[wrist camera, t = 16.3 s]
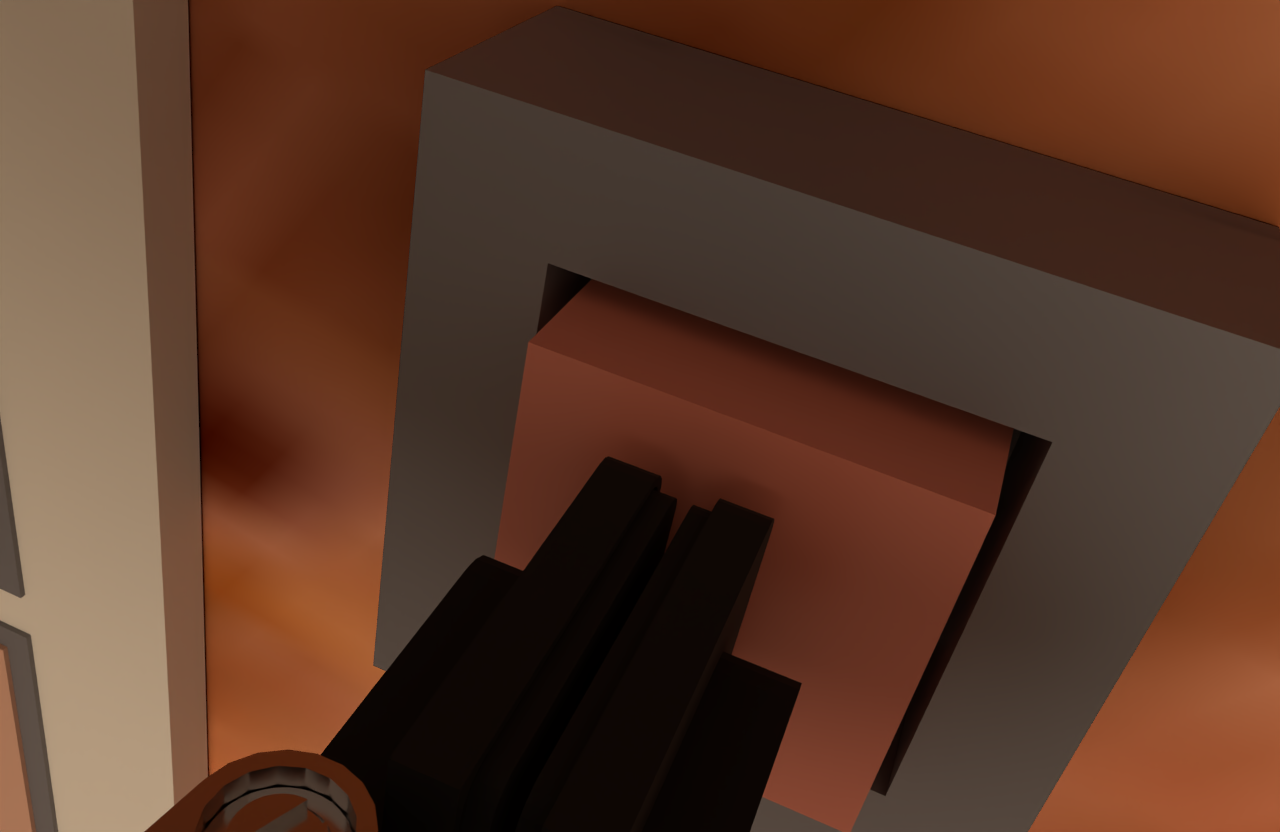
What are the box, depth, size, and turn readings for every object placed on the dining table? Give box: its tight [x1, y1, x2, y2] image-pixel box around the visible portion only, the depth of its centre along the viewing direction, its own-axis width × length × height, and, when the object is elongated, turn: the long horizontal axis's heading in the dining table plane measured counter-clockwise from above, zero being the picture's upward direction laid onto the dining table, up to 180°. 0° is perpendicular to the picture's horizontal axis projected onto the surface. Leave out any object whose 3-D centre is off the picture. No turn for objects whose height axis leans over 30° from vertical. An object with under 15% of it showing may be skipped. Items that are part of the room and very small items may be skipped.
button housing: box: [373, 6, 1280, 832], centre depth 14 cm, size 8×8×3 cm
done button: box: [494, 279, 1014, 832], centre depth 13 cm, size 4×4×3 cm
